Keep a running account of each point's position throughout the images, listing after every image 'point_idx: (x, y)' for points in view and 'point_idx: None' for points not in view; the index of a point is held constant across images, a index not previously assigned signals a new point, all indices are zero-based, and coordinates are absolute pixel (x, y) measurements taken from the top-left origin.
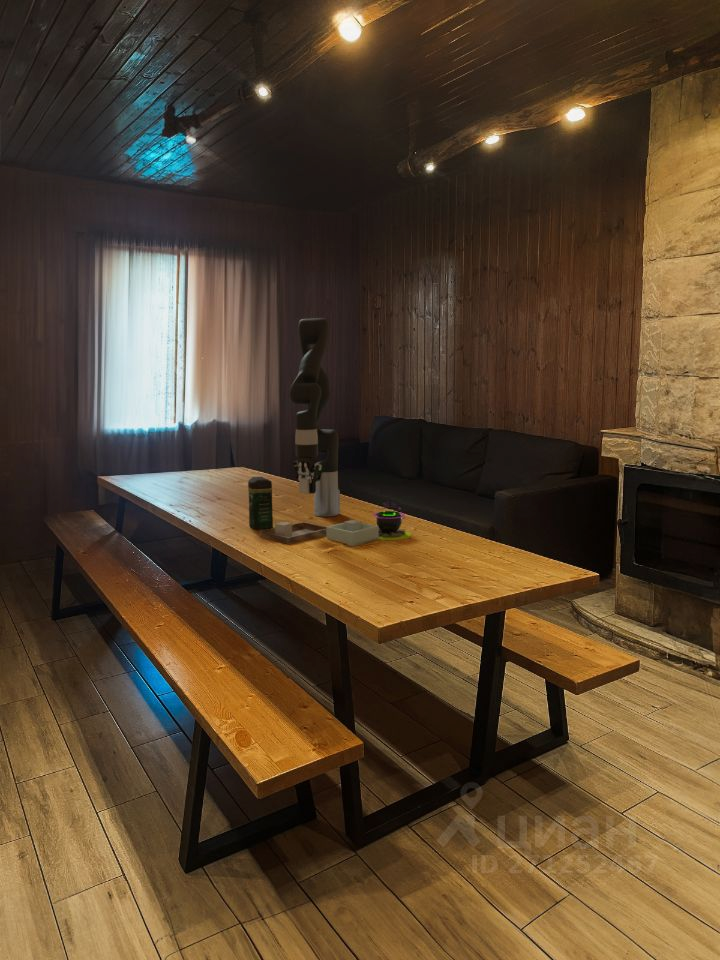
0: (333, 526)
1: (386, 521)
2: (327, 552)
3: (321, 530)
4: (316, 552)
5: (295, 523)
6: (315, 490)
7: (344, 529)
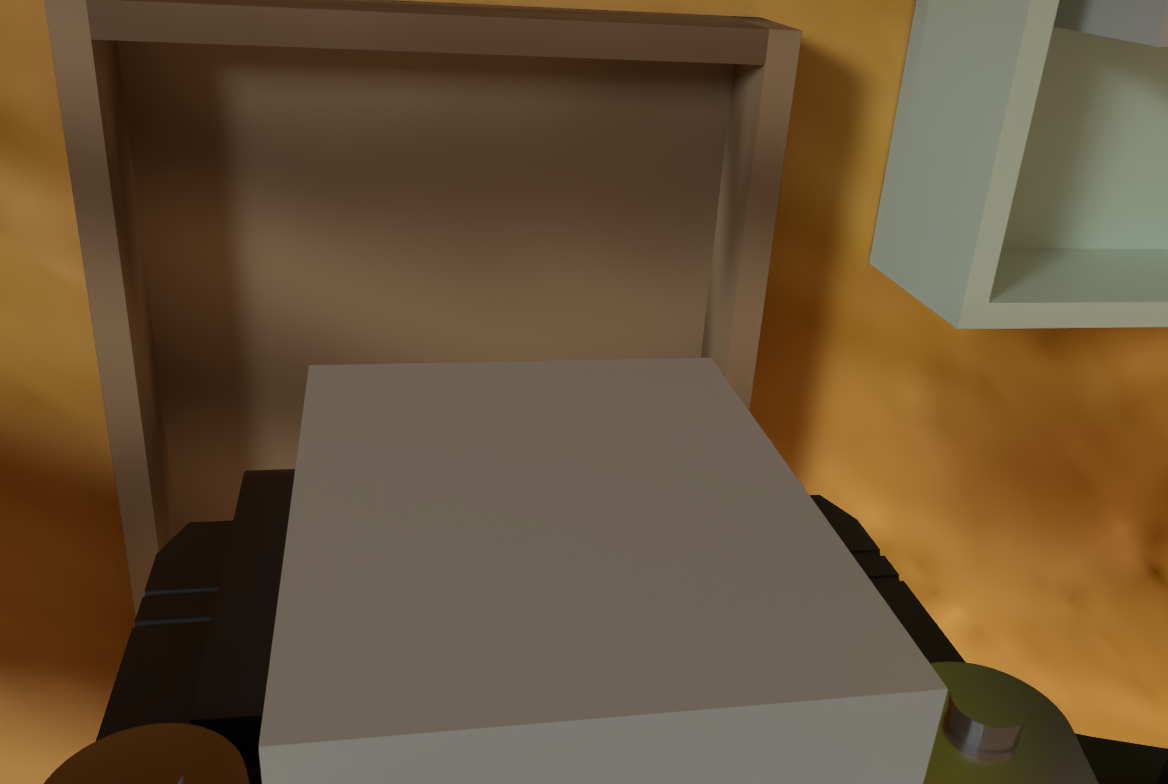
0: (1003, 207)
1: None
2: (1148, 579)
3: (770, 249)
4: (1058, 642)
5: (75, 202)
6: (848, 526)
7: (1080, 31)
